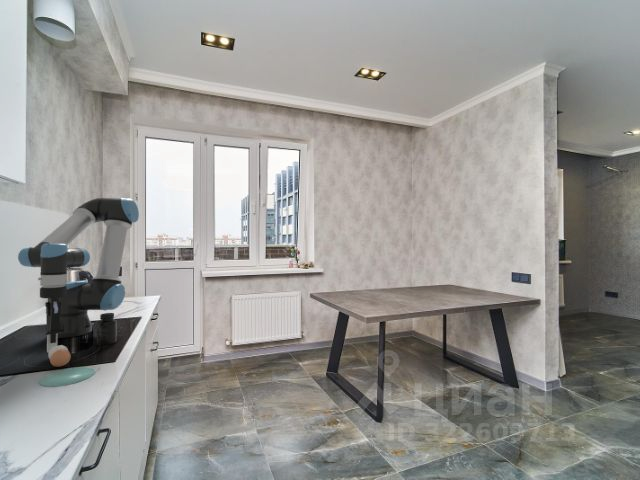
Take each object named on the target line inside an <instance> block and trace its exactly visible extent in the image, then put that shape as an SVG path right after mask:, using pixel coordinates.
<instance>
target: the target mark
mask: <svg viewBox="0 0 640 480" xmlns="http://www.w3.org/2000/svg"><path fill="white" fill-rule="evenodd" d="M95 373H96V370H95V368H93V367H88V366H78V367H75V366H74V367H68V368H64V369H60V370H56V371H53V372H51V373H48V374H46V375H44V376H43V377H41V378H40V379H39V381H38V385H40V386H43V387H53V388H54V387H55V388H56V387H61V386H68V385H73V384H77V383H80V382H82V381H85V380H87V379H90V378H91V377H92V376H94V375H95Z"/></svg>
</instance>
